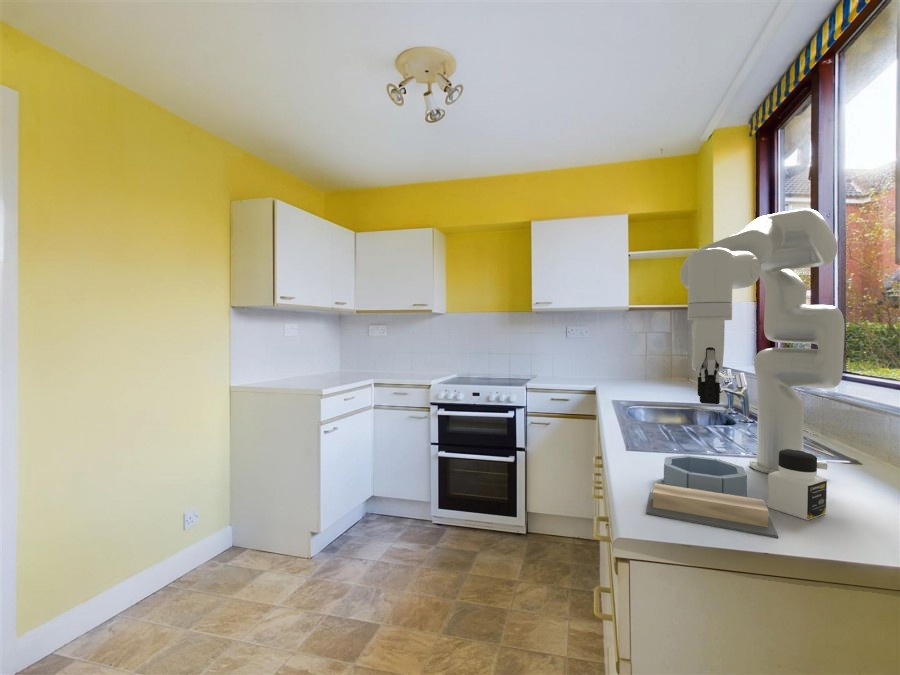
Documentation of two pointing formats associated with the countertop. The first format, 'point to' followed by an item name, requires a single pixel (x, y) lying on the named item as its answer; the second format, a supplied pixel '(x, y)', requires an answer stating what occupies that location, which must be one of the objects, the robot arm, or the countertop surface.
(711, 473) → the ceramic bowl
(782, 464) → the medicine bottle
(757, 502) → the oak board
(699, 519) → the rubber mat
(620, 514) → the countertop surface
